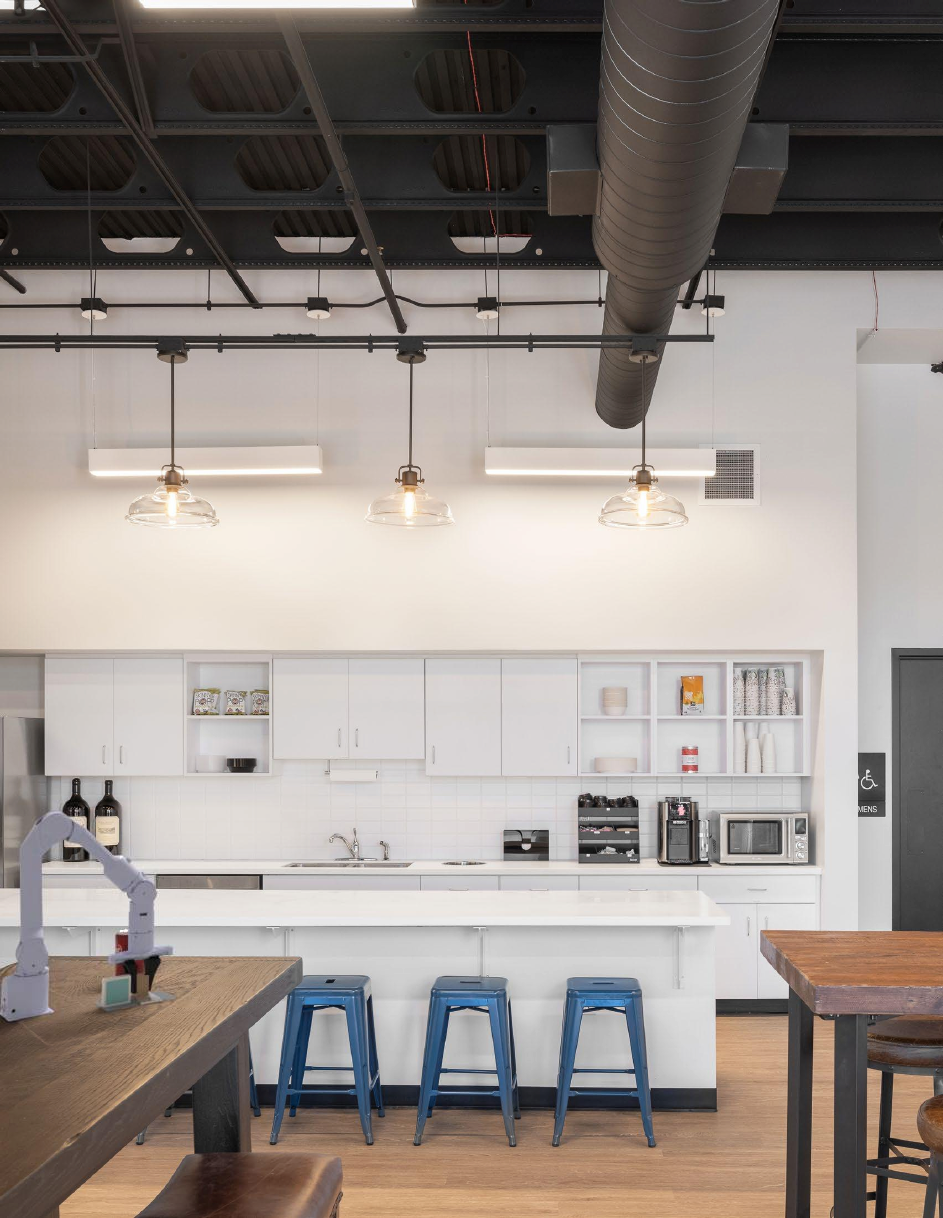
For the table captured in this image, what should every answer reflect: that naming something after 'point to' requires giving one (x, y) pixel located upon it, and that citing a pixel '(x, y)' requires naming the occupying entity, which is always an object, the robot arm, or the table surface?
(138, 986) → the trowel
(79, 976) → the table surface
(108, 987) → the tile
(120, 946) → the soda can
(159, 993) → the mat
